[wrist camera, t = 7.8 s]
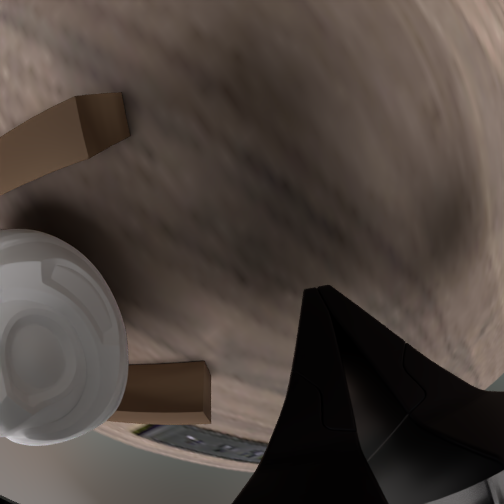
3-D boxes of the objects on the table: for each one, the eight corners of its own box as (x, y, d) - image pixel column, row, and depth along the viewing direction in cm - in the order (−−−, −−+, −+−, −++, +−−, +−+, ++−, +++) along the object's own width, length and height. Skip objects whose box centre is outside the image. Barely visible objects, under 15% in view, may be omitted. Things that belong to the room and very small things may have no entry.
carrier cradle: (211, 376, 14) (212, 477, 9) (22, 371, 14) (-1, 433, 9) (121, 92, 7) (-24, 118, 2) (-74, 208, 7) (-131, 264, 2)
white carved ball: (177, 313, 12) (157, 496, 5) (76, 351, 13) (40, 471, 6) (60, 154, 8) (-113, 294, 1) (-17, 246, 9) (-99, 354, 2)
